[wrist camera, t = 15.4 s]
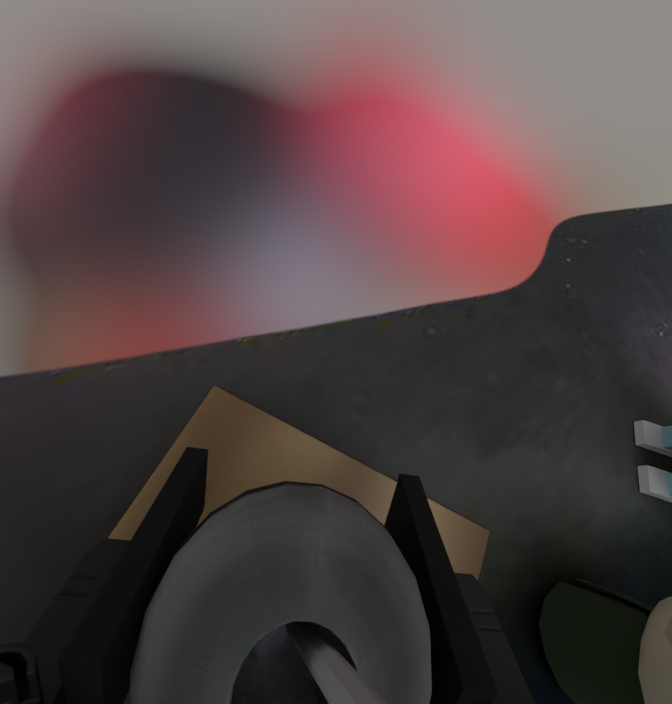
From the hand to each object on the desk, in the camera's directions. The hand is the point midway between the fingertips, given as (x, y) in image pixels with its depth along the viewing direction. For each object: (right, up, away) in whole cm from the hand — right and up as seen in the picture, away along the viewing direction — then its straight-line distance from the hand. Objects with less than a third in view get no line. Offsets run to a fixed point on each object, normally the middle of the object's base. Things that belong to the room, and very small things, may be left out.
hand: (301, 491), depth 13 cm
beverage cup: (-2, -7, +6) cm, 9 cm away
